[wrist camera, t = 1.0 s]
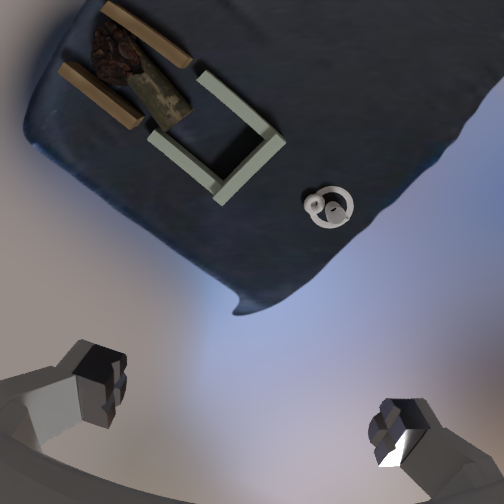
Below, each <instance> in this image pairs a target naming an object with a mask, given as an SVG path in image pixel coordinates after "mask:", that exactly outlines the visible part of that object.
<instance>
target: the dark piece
mask: <svg viewBox="0 0 504 504" xmlns="http://www.w3.org/2000/svg"><path fill="white" fill-rule="evenodd" d="M136 39H137V36H136V35H134V34H133V33H132V32H130V31H129V30H127V29H126V28H122V27H121V26H118V23H117V22H116V21H115V20H114V21H113V22H110V21H106V23H105V24H104V25H102V26H100V27H98V28H97V31H96V32H95V38H94V40H93V42H92V45H93V50H92V52H91V60H92V63H93V69H94V70H95V71H96V72H97V77H98V78H100V79H102V80H103V81H106V82H107V83H109V84H112V85H119V86H127V85H129V86H130V87H131V89H132V90H133V91H134V92H135V94H136V95H137V96H138V98H139V99H140V101H141V102H142V103H143V104H144V106H145V107H146V108H147V110H148V111H149V112H150V114H151V115H152V117H153V118H154V119H155V121H156V122H157V124H158V125H159V126H160V128H161V129H162V130H163V132H164V133H165V132H167V131H168V130H169V129H170V128H172V127H173V126H174V125H175V124H176V123H177V122H179V121H180V120H182V119H183V118H184V117H185V116H187V115H188V114H189V113H190V112H191V111H193V110H194V109H193V108H192V107H191V105H190V104H189V103H188V102H187V101H186V100H185V99H184V98H183V97H182V95H181V94H180V93H179V92H178V91H177V90H176V89H175V87H174V86H173V85H172V84H171V83H170V82H169V81H168V80H167V78H166V77H165V76H164V75H163V74H162V73H161V71H160V70H159V69H158V68H157V67H156V66H155V64H154V63H153V62H152V61H151V60H150V59H149V57H148V56H147V55H146V54H145V53H144V52H143V50H142V49H141V48H140V47H139V46H138V44H137V42H136Z"/></svg>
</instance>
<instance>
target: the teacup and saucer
mask: <svg viewBox="0 0 504 504" xmlns="http://www.w3.org/2000/svg"><path fill="white" fill-rule="evenodd" d="M328 192H336V193H339V194H341V195H342V196H343V197H344V198H345V199H346V202H347V211H346V213H345V211H344V210H343V208H342V207H341V206H340V205H339V204H338V203H337V202H334V201H331V202H329V203H327V205H326V207H325V212H326V216H327V219H328V221H329V222H325V221H322V220H321V219H320V218H319V217H318V216H317V213H319V212H320V211H322V209H323V208H324V205H325V200H324V198H323V197H322V195H323V194H325V193H328ZM316 202H318V204H317V206H315V205H316ZM304 208H305V210H306V211H307V212H308V213H310V216H311V218H312V220H313V221H314V222H315V223H316V224H317V225H319V226H321V227H324V228H335V227H338V226H341V225H342V224H344V223H345V222H347V221H348V220H349V218H350V216H351V214H352V212H353V200H352V197H351V195H350V194H349V193H348V192H347V191H346V190H345V189H343V188H341V187H337V186H328V187H325V188H322V189H320V190H319V191H317V192H316V193H315V194H311V195H309V196H308V197H307V198H306V199H305V201H304ZM333 208H336V210H335V211H332V212H331V211H330V210H332V209H333Z"/></svg>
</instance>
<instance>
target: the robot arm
mask: <svg viewBox="0 0 504 504" xmlns="http://www.w3.org/2000/svg"><path fill="white" fill-rule="evenodd" d="M126 366H127V356H126V354H124V353H121V352H117V351H115V350H112V349H109V348H106V347H103V346H100V345H97V344H94V343H91V342H88V341H85V340H83V339H81V340H78V341H77V342H76V344H75V345H74V346H73V347H72V348H71V349H70V351H69V352H68V353H67V354H66V355H65V356H64V358H63V359H62V360H61V361H60V363H59V364H58V365H57V366H56V367H53V366H49V367H45V368H42V369H39V370H35V371H32V372H29V373H25V374H21V375H18V376H14V377H11V378H8V379H4V380H0V504H194V503H189V502H184V501H179V500H175V499H170V498H166V497H161V496H158V495H154V494H150V493H146V492H142V491H139V490H136V489H132V488H129V487H126V486H123V485H120V484H117V483H114V482H111V481H108V480H105V479H102V478H99V477H97V476H94V475H91V474H89V473H86V472H84V471H81V470H79V469H76V468H74V467H71V466H69V465H67V464H64V463H62V462H60V461H58V460H56V459H54V458H51V457H49V456H47V455H45V454H43V452H42V449H41V447H40V445H41V444H43V443H45V442H46V441H49V440H50V439H52V438H54V437H56V436H58V435H59V434H61V433H63V432H65V431H66V430H68V429H70V428H72V427H74V426H75V425H77V424H79V423H81V422H82V420H83V421H86V422H89V423H92V424H95V425H98V426H101V427H104V428H107V429H109V427H110V425H111V423H112V420H113V418H114V417H115V414H116V413H115V412H116V411H115V407H116V406H118V405H120V404H121V402H122V400H123V397H124V394H125V391H126V384H127V376H126V374H125V373H124V370H125V368H126ZM379 408H380V413H378V414H377V415H376V416H374V417H373V419H372V420H371V422H370V424H369V429H368V436H369V440H370V443H372V444H373V445H374V446H375V447H376V448H375V451H374V454H375V457H376V460H377V462H378V465H379V466H396V465H397V466H398V465H400V467H401V468H402V469H403V470H404V471H405V472H406V473H407V474H408V475H409V476H410V477H411V478H412V479H413V480H414V481H415V482H416V483H417V484H418V485H419V486H420V487H421V488H422V489H423V490H424V491H425V492H426V493H427V494H428V495H429V496H430V497H431V499H430V500H429V501H426V502H421V503H417V504H504V477H503V475H502V474H501V472H500V470H499V469H498V467H497V465H496V464H495V462H494V460H493V459H492V457H490V456H489V455H487V454H486V453H484V452H483V451H481V450H480V449H478V448H476V447H475V446H473V445H472V444H470V443H468V442H467V441H466V440H464V439H463V438H461V437H459V436H458V435H456V434H455V433H453V432H452V431H450V430H449V429H447V428H443V427H442V425H441V424H440V422H439V421H438V419H437V418H436V416H435V414H434V413H433V411H432V409H431V408H430V406H429V404H428V403H427V401H426V400H425V399H423V398H416V399H415V398H414V399H412V398H411V399H392V398H386V399H385V400H384V401H383V402H382V404H381V405H380V407H379Z"/></svg>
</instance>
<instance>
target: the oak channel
mask: <svg viewBox="0 0 504 504" xmlns="http://www.w3.org/2000/svg"><path fill="white" fill-rule="evenodd" d="M100 11H101V12H103V13H104V14H106V15H107V16H109V17H110V18H112V19H113V20H115V21H116V22H117V23H119V24H120V25H122V26H123V27H125V28H126V29H127V30H129V31H130V32H132V33H133V34H134V35H136V36H137V37H139V38H140V39H141V40H143V41H144V42H145V43H147V44H148V45H150V46H151V47H152V48H154V49H155V50H156V51H158V52H159V53H160V54H162V55H163V56H164V57H165V58H167V59H168V60H169V61H171V62H172V63H173V64H175V65H176V66H177V67H178V68H186V67H187V66H188V65H189V63H190V62H191V61H192V60H193V58H192V57H190V56H189V55H188V54H187V53H185V52H184V51H183V50H181V49H180V48H179V47H178V46H176V45H175V44H174V43H172V42H171V41H170V40H168V39H167V38H166V37H164V36H163V35H161V34H160V33H159V32H157V31H156V30H155V29H153V28H152V27H150V26H149V25H148V24H146V23H145V22H143V21H142V20H140V19H139V18H138V17H136V16H135V15H133V14H132V13H130V12H129V11H127V10H126V9H124V8H123V7H121V6H120V5H118V4H116V3H113V2H110V1H108V2H107V3H106V4H105V5H104V6H103V8H102V9H101V10H100ZM58 73H59V74H60V75H61V76H63V77H64V78H65V79H66V80H68V81H69V82H70V83H72V84H73V85H74V86H75V87H77V88H78V89H79V90H80V91H82V92H83V93H84V94H85V95H87V96H88V97H89V98H90V99H92V100H93V101H94V102H95V103H97V104H98V105H99V106H100V107H102V108H103V109H104V110H105V111H107V112H108V113H109V114H110V115H112V116H113V117H114V118H115V119H117V120H118V121H119V122H120V123H122V124H123V125H124V126H125V127H126V128H128V129H129V130H130V129H132V128H134V127H136V126H138V125H139V124H140V122H141V121H142V120H143V119H144V117H145V115H143V114H142V113H141V112H140V111H138V110H137V109H136V108H135V107H133V106H132V105H131V104H130V103H128V102H127V101H126V100H125V99H123V98H122V97H121V96H120V95H118V94H117V93H116V92H114V91H113V90H112V89H111V88H109V87H108V86H107V85H106V84H104V83H103V82H102V81H100V80H99V79H98V78H97V77H95V76H94V75H93V74H91V73H90V72H89V71H87V70H86V69H85V68H84V67H82V66H81V65H80V64H78V63H77V62H64V63H63V64H62V66H61V68H60V69H59V71H58Z"/></svg>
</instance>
